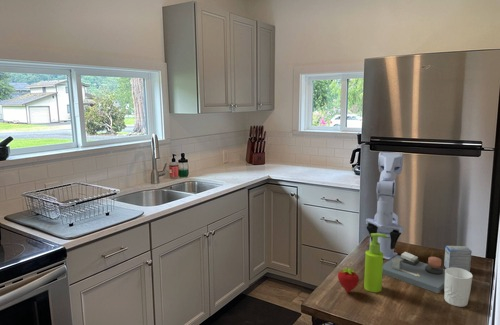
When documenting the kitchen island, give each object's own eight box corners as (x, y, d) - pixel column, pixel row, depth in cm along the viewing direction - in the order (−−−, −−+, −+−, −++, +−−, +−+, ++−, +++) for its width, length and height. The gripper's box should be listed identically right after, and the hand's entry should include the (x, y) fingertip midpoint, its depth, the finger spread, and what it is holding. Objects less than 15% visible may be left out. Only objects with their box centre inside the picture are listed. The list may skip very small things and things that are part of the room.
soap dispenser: (385, 293, 129) (388, 237, 126) (364, 291, 131) (367, 236, 127) (383, 285, 135) (386, 231, 132) (363, 283, 136) (365, 230, 133)
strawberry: (352, 299, 126) (353, 271, 124) (333, 291, 131) (334, 264, 130) (362, 293, 130) (363, 266, 128) (343, 285, 135) (344, 259, 133)
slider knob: (391, 267, 143) (392, 258, 143) (394, 265, 145) (395, 256, 144) (399, 270, 141) (399, 261, 140) (402, 268, 143) (402, 259, 142)
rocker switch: (400, 257, 149) (401, 254, 149) (404, 254, 152) (405, 251, 151) (413, 262, 146) (414, 259, 145) (417, 259, 148) (418, 257, 148)
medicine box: (464, 266, 148) (466, 245, 147) (469, 272, 144) (472, 250, 143) (443, 266, 149) (445, 245, 148) (448, 271, 145) (450, 249, 143)
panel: (377, 272, 145) (378, 264, 144) (397, 259, 156) (397, 252, 155) (438, 293, 129) (438, 285, 128) (454, 277, 140) (455, 269, 139)
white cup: (445, 292, 129) (448, 265, 128) (471, 300, 125) (474, 271, 123) (439, 302, 124) (442, 273, 122) (467, 310, 119) (470, 281, 117)
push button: (426, 265, 141) (426, 259, 140) (430, 261, 144) (431, 255, 143) (438, 269, 138) (438, 262, 137) (442, 265, 141) (443, 259, 140)
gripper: (362, 210, 146) (360, 243, 148) (398, 218, 136) (396, 254, 138) (371, 206, 151) (369, 238, 153) (407, 214, 141) (405, 248, 143)
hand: (383, 245), depth 146 cm, fingers open, 7 cm apart
